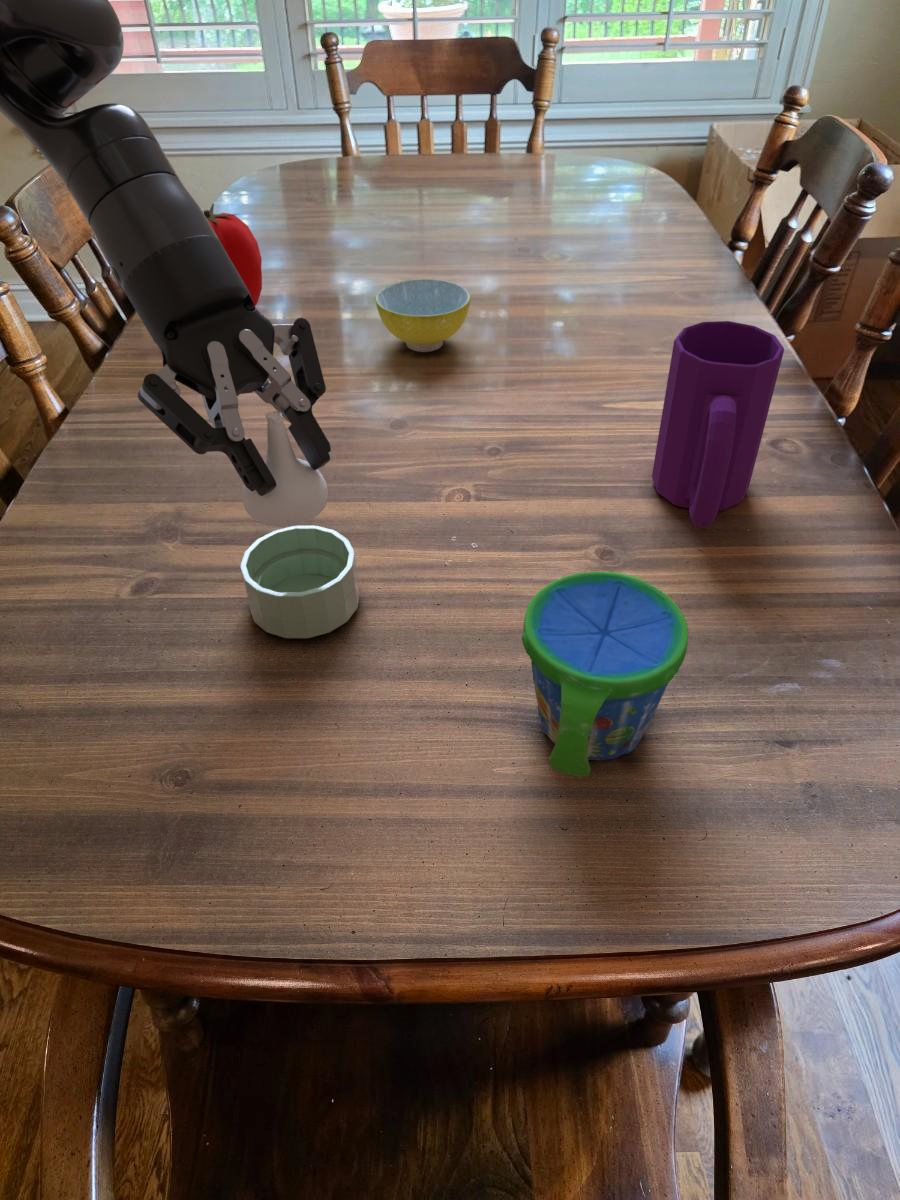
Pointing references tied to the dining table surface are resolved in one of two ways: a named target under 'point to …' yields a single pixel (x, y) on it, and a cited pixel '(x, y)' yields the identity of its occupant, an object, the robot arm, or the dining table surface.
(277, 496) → the garlic bulb
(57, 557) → the dining table surface
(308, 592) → the dish
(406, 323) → the bowl
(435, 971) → the dining table surface
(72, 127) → the robot arm
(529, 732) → the dining table surface
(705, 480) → the mug
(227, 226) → the tomato
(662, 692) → the snack cup
